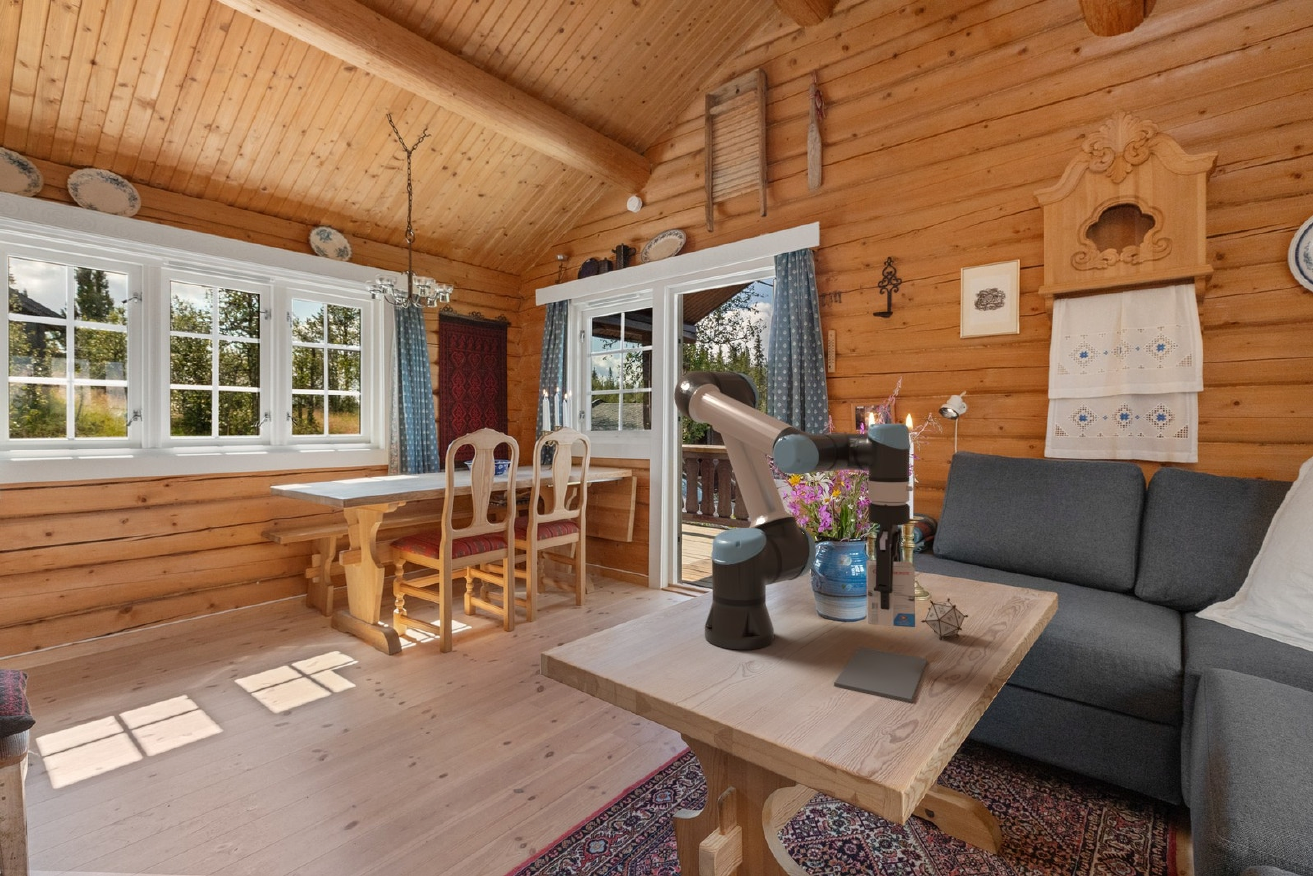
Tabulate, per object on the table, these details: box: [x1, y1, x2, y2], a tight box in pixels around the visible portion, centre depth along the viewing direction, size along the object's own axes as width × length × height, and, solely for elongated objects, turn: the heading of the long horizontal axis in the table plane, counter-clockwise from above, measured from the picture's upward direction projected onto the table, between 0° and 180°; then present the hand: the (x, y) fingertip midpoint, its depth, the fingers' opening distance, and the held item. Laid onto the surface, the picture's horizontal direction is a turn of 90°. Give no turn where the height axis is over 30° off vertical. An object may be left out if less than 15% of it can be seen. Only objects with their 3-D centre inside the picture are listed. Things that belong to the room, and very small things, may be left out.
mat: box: [833, 646, 928, 704], centre depth 115 cm, size 13×20×1 cm, turn 149°
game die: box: [920, 597, 969, 641], centre depth 134 cm, size 9×8×10 cm
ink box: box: [865, 559, 916, 628], centre depth 119 cm, size 9×5×12 cm, turn 75°
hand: (889, 619), depth 120 cm, fingers closed on ink box, 6 cm apart
